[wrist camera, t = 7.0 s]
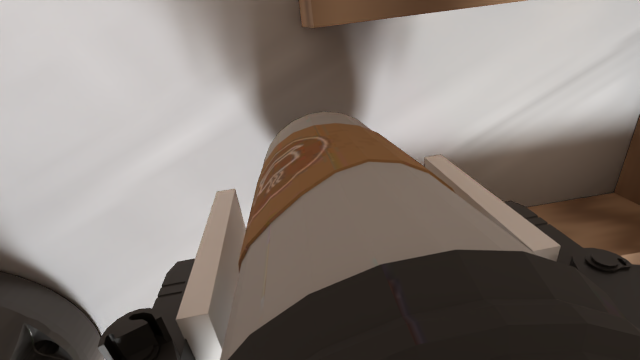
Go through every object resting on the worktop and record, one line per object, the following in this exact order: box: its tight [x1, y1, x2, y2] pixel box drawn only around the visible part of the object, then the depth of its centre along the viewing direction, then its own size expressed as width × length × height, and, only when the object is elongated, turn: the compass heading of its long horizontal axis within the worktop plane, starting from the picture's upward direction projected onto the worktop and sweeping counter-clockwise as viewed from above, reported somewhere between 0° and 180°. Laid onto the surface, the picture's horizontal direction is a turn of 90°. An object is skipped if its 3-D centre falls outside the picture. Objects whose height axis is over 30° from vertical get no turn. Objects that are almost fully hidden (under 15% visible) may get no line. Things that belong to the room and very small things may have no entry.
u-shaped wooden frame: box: [299, 0, 640, 265], centre depth 18 cm, size 24×17×6 cm
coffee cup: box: [220, 112, 640, 360], centre depth 11 cm, size 8×8×15 cm
